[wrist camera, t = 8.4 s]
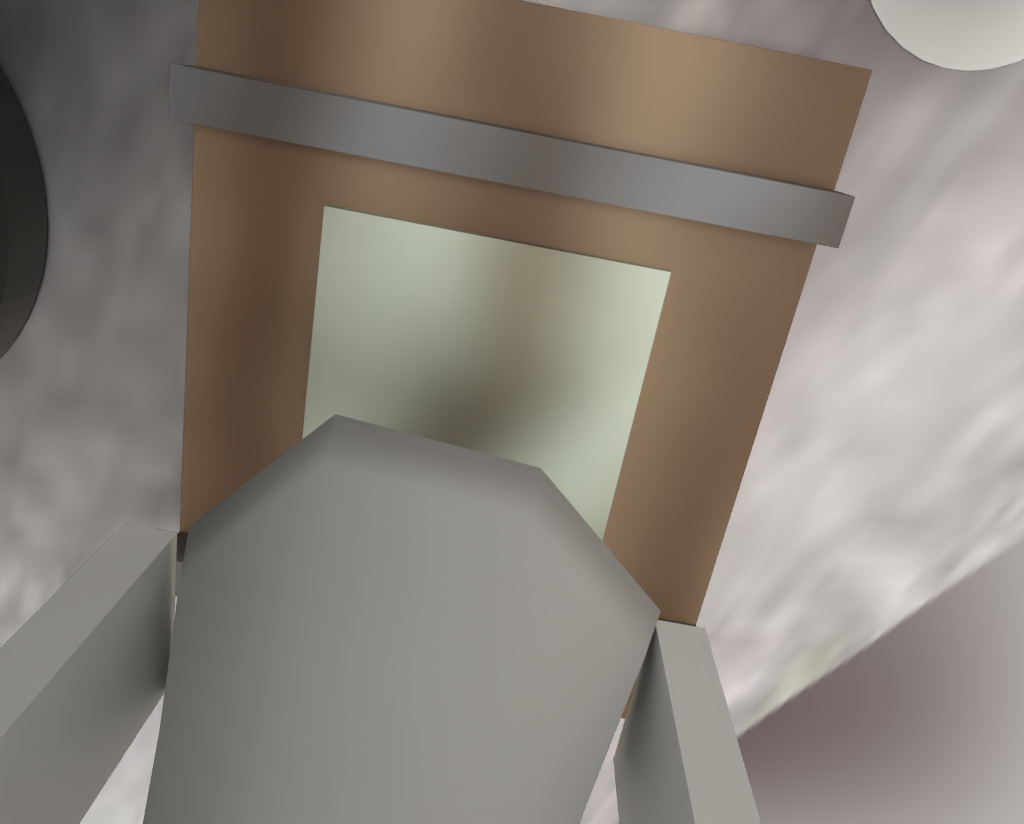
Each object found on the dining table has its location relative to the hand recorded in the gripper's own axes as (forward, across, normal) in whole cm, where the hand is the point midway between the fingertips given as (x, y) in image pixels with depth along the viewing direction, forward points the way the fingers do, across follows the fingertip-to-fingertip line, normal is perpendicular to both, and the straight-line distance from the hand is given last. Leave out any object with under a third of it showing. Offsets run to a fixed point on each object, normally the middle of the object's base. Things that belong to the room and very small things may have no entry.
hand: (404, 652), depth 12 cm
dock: (+14, 0, 0) cm, 14 cm away
